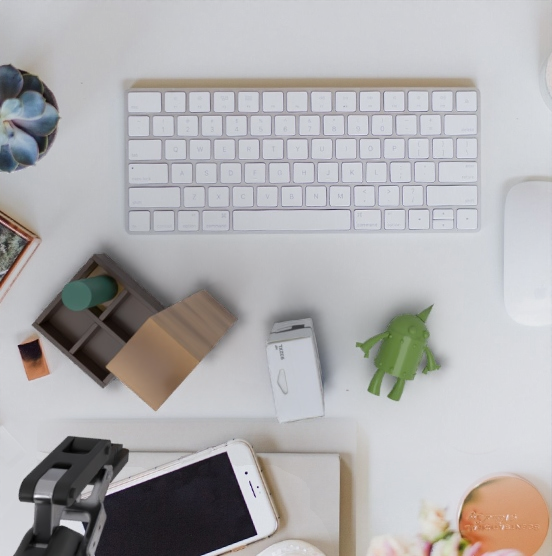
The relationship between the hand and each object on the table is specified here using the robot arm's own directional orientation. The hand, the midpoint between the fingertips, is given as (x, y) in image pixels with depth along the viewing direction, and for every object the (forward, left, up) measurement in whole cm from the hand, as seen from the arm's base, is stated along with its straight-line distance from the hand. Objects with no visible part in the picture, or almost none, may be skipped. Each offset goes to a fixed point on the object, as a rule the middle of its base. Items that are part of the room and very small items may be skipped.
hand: (109, 514), depth 38 cm
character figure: (+20, -14, -30) cm, 39 cm away
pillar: (+7, +5, -30) cm, 31 cm away
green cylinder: (+2, +16, -29) cm, 34 cm away
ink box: (+11, -6, -30) cm, 33 cm away
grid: (-1, +14, -30) cm, 33 cm away
